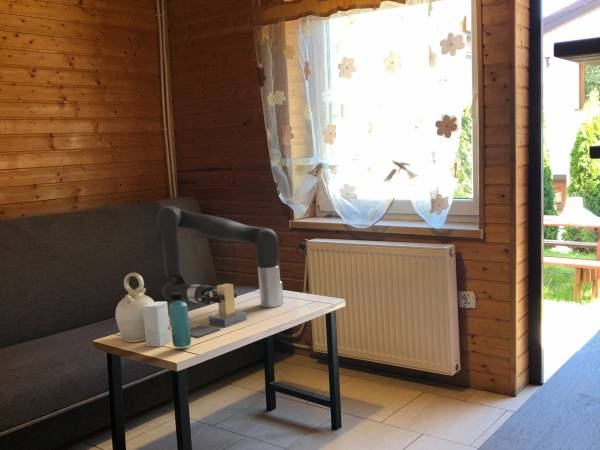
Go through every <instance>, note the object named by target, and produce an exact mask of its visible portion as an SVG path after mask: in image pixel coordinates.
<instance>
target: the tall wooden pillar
mask: <svg viewBox="0 0 600 450" xmlns="http://www.w3.org/2000/svg"><path fill="white" fill-rule="evenodd" d="M216 290H217V293H218V297H220V298H221V303H217V305H218V314H219V316H224V317H228V316H230V315H233V314H236V313H235V311H236V303H235V298H234V292H235V291H234V283H223V284H219V285H217V286H216Z"/></svg>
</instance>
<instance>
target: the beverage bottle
mask: <svg viewBox="0 0 600 450" xmlns="http://www.w3.org/2000/svg"><path fill="white" fill-rule="evenodd" d="M181 299H183V293H182V292H176V293H172V294H171V300H170V301H173V302H172V303H170V304H169V306H168V310H169V320H170V330H171V341H172V345H173V347H174V348H185V347H188V346H190V345H191V343H192V338H191V336H190V329H191V327H190V319H189V310H188V304H187V302H185V301H184V300H181Z"/></svg>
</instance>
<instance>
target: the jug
mask: <svg viewBox="0 0 600 450" xmlns="http://www.w3.org/2000/svg"><path fill="white" fill-rule="evenodd" d="M132 277H134V278H136V279H137V281H138V286H137V287H136V288H135V289H134V288H132V287H131V286H130V284H129V282H130V280H131V279H130V278H132ZM123 286H124V289H125V290H126V291H127V292H128V294H125V296H124V298H122V299H121V300H120V301H119V302H118V303H117V306H116V308H115V321H116V323H117V327H118V330H119V333H120V336H121V338H122V341H124V342H126V343H132V344H133V343H141V342H146V335H145V326H144V316H143V306H145V305H147V304H150V303H152V302H155V301H154V299H152V297H150V296H148V295H146V294H145V293H146V290H147V289H146V288H145V287H144V286H145V282H144V279H143V276H142V275H140V273H138V272H130V273H128V274H126V276H125V277H124V279H123Z"/></svg>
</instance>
